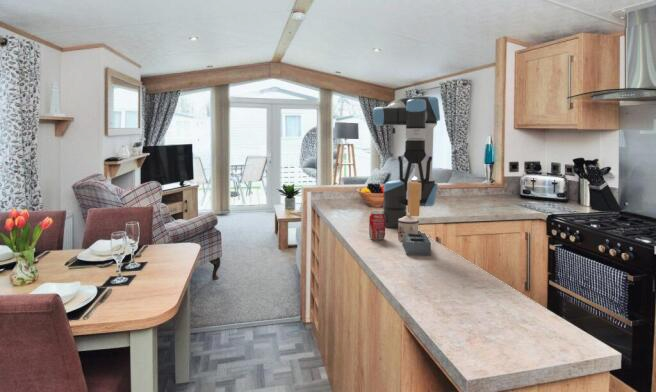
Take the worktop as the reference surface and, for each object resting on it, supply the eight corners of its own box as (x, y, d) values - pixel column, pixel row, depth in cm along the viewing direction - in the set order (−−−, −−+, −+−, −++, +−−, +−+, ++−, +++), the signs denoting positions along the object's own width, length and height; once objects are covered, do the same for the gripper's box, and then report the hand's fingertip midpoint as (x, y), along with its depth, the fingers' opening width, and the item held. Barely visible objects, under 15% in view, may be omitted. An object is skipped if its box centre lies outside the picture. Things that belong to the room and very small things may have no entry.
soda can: (374, 236, 201) (375, 210, 200) (387, 238, 197) (388, 212, 195) (365, 239, 196) (366, 212, 194) (379, 241, 192) (379, 214, 190)
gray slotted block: (406, 255, 169) (406, 242, 169) (402, 244, 186) (402, 232, 186) (430, 255, 169) (430, 242, 168) (424, 244, 186) (424, 233, 185)
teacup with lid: (394, 238, 198) (395, 212, 197) (413, 237, 200) (414, 211, 199) (404, 244, 187) (405, 217, 185) (424, 243, 188) (425, 216, 187)
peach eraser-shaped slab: (409, 216, 170) (410, 184, 168) (406, 211, 182) (407, 181, 180) (419, 216, 170) (420, 184, 168) (416, 211, 181) (417, 181, 180)
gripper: (393, 139, 169) (392, 200, 172) (439, 139, 167) (436, 200, 170) (392, 139, 176) (391, 197, 179) (436, 139, 175) (434, 198, 178)
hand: (413, 199), depth 175 cm, fingers closed on peach eraser-shaped slab, 4 cm apart
